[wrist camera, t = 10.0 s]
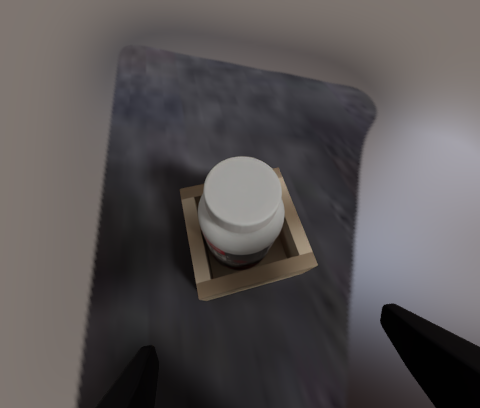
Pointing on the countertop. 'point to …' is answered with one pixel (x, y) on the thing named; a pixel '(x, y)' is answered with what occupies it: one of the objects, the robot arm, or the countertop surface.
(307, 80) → the countertop surface
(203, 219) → the pill bottle
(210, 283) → the birch socket stand
